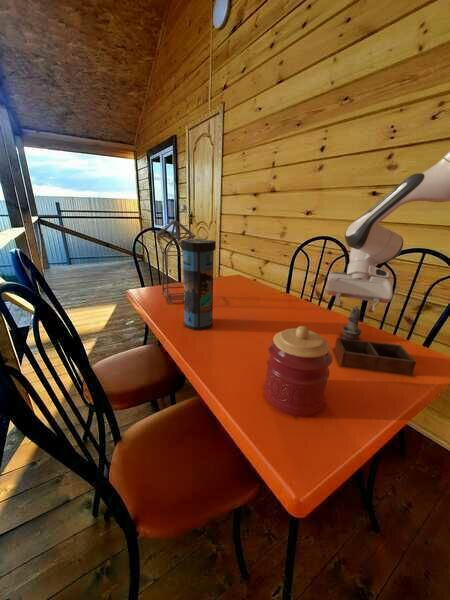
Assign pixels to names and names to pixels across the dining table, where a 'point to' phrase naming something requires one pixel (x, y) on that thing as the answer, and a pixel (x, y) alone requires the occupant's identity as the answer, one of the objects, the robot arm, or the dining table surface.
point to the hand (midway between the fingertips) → (355, 308)
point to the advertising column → (198, 282)
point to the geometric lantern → (171, 255)
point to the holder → (374, 356)
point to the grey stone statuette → (352, 325)
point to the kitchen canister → (297, 372)
